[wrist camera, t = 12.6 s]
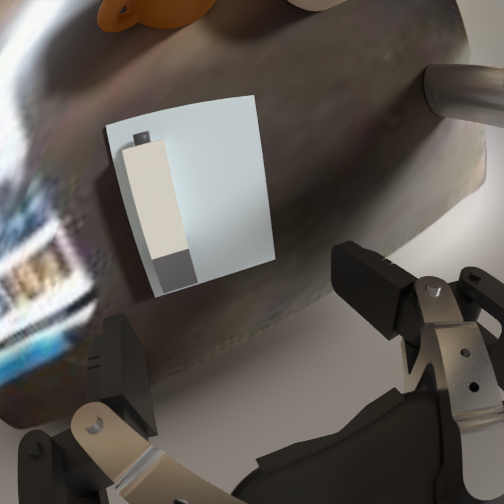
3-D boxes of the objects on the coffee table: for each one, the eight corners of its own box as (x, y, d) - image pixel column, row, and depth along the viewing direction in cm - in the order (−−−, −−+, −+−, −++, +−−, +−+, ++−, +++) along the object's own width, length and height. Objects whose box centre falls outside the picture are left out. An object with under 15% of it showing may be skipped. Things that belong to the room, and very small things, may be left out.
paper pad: (252, 95, 24) (253, 95, 24) (273, 257, 33) (275, 259, 32) (106, 126, 21) (105, 125, 20) (155, 295, 29) (155, 297, 29)
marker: (122, 138, 21) (119, 138, 19) (159, 128, 22) (161, 126, 19) (160, 276, 28) (163, 293, 25) (191, 266, 29) (198, 282, 26)
